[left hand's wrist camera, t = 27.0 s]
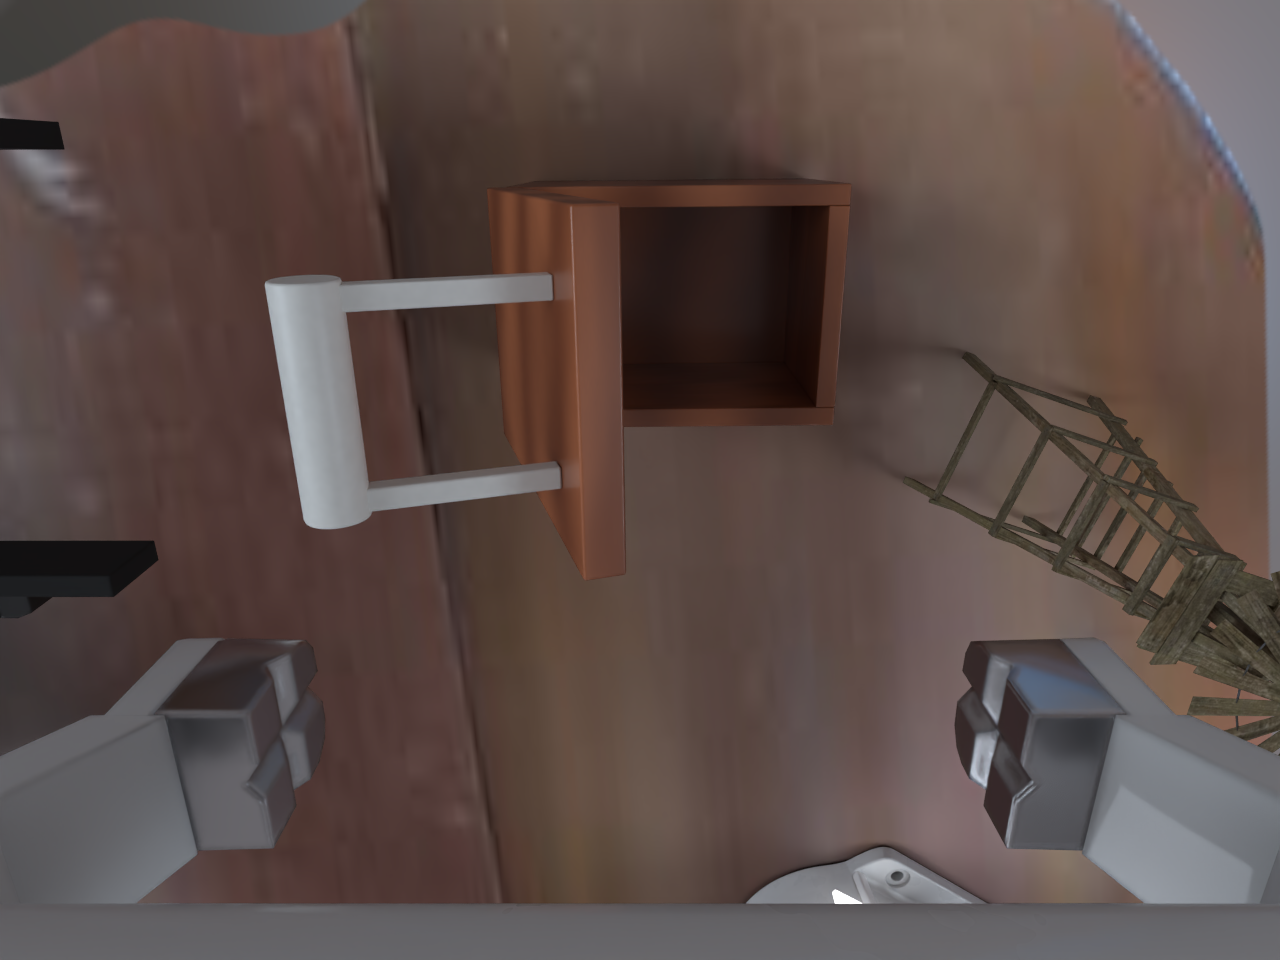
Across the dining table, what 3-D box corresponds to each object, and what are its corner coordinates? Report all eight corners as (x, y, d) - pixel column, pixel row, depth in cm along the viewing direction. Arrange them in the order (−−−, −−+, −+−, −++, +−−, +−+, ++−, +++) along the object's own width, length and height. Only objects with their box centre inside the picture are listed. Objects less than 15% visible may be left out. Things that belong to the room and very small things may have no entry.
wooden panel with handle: (621, 202, 20) (237, 212, 18) (627, 575, 24) (309, 624, 22) (518, 187, 33) (287, 191, 31) (532, 431, 37) (326, 452, 35)
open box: (807, 178, 43) (852, 183, 34) (795, 373, 46) (833, 425, 37) (533, 181, 43) (505, 187, 34) (543, 375, 47) (520, 428, 37)
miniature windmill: (968, 342, 46) (1490, 632, 18) (1105, 390, 47) (1807, 738, 19) (898, 489, 49) (1246, 935, 21) (1028, 531, 50) (1529, 1013, 22)
